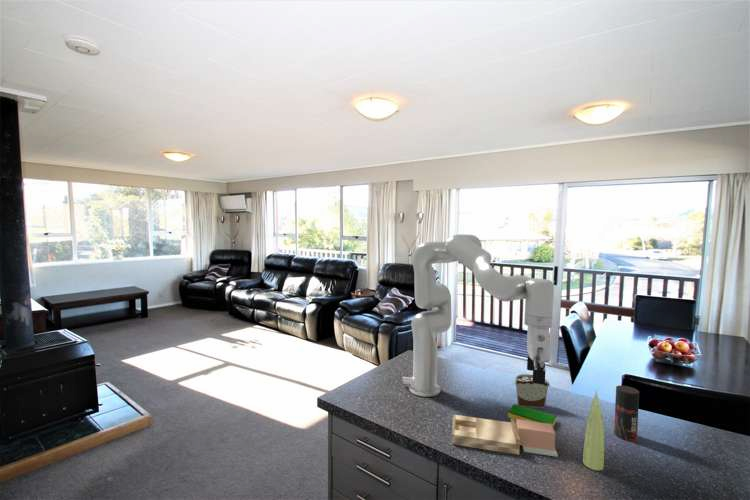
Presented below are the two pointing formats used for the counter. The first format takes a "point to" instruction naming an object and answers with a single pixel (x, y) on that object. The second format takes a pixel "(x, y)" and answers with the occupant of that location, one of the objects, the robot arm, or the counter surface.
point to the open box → (486, 434)
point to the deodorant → (626, 413)
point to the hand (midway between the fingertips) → (535, 376)
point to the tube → (594, 438)
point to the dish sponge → (530, 415)
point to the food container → (530, 391)
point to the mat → (540, 451)
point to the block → (536, 434)
